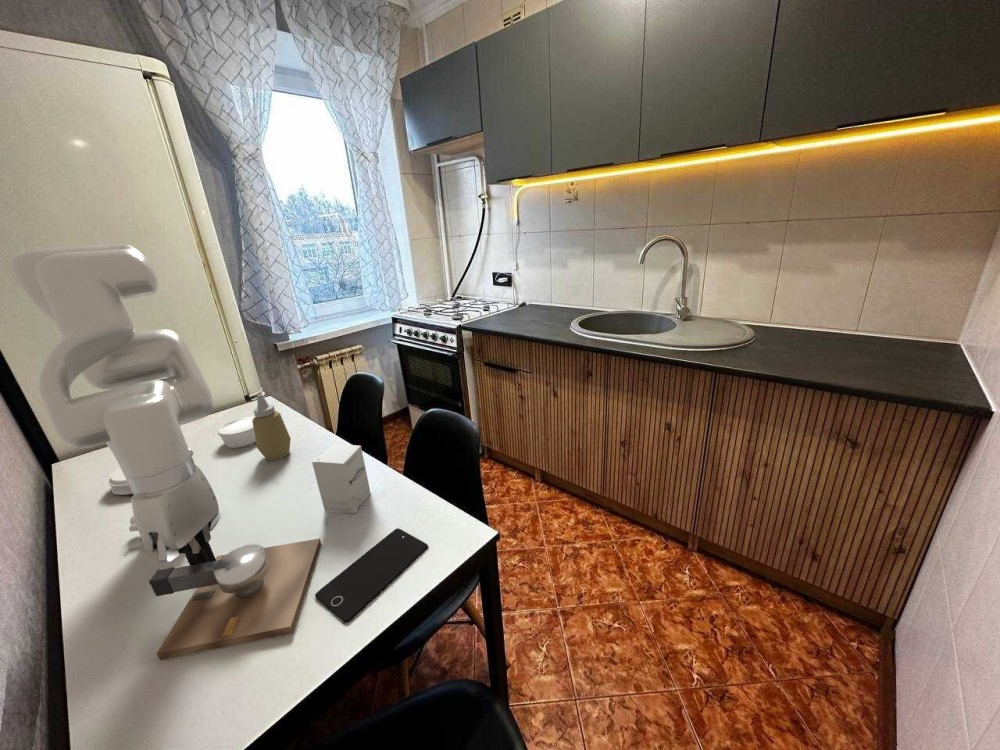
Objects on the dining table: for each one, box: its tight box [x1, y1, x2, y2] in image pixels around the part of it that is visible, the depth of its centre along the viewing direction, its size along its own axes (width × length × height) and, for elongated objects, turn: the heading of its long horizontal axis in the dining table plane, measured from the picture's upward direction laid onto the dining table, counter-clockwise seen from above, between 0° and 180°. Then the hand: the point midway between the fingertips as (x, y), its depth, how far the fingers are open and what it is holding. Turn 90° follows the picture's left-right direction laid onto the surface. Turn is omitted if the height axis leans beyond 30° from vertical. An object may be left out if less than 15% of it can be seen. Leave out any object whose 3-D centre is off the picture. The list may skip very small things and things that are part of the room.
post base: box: [156, 537, 322, 661], centre depth 65 cm, size 18×18×4 cm
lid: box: [106, 466, 133, 496], centre depth 98 cm, size 13×13×5 cm
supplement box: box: [311, 443, 371, 515], centre depth 85 cm, size 7×7×13 cm
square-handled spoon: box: [148, 543, 269, 597], centre depth 63 cm, size 16×7×3 cm, turn 101°
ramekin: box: [217, 416, 256, 449], centre depth 115 cm, size 11×11×5 cm
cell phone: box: [314, 527, 429, 624], centre depth 69 cm, size 9×18×1 cm, turn 145°
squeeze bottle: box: [252, 393, 292, 461], centre depth 104 cm, size 8×8×18 cm
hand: (204, 565), depth 66 cm, fingers closed
